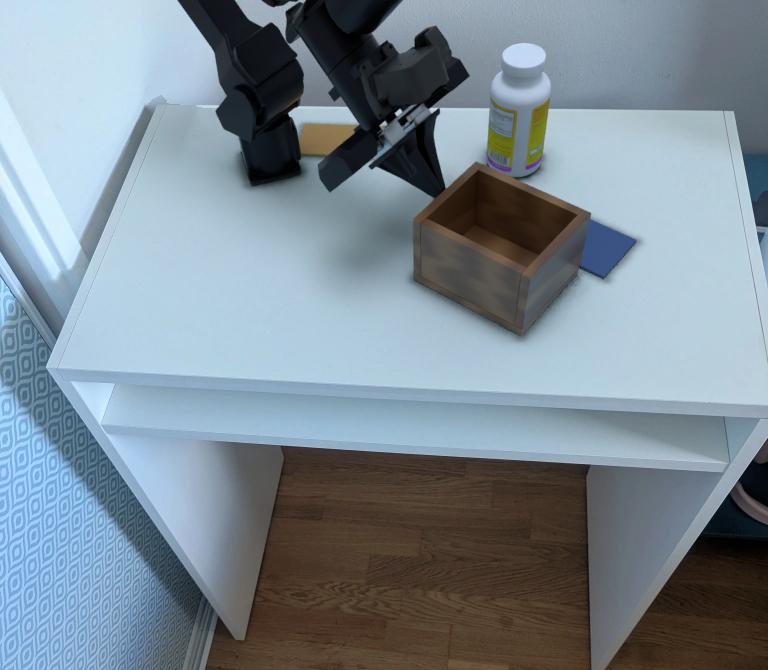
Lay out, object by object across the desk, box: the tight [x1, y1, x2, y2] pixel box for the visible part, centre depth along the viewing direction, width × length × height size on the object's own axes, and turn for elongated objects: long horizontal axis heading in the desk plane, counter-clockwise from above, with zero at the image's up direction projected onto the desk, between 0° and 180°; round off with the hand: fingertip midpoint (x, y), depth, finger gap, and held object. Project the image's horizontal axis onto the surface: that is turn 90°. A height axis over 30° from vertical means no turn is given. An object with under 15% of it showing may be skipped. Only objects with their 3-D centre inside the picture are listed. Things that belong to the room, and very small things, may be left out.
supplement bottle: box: [486, 42, 552, 178], centre depth 86 cm, size 7×7×13 cm
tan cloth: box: [299, 123, 386, 157], centre depth 95 cm, size 12×6×1 cm, turn 82°
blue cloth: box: [579, 218, 638, 280], centre depth 85 cm, size 12×7×1 cm, turn 51°
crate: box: [411, 161, 592, 337], centre depth 79 cm, size 14×11×8 cm
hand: (442, 196), depth 79 cm, fingers closed, pressing on crate
